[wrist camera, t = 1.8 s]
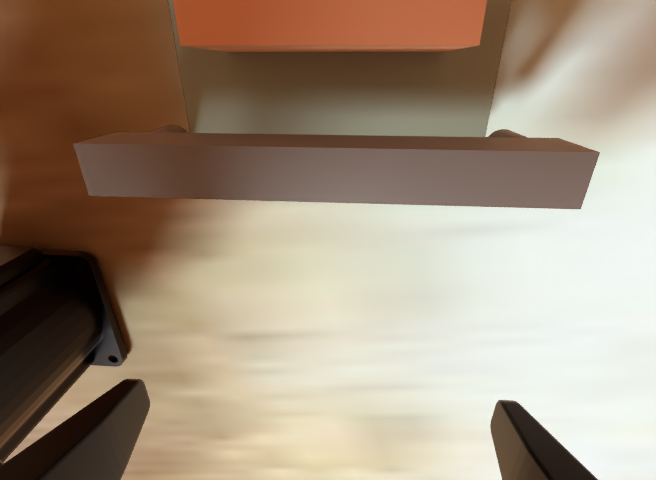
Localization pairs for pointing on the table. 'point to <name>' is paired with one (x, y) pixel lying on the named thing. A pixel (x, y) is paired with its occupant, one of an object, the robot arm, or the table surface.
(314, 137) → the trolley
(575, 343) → the table surface
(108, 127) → the table surface
